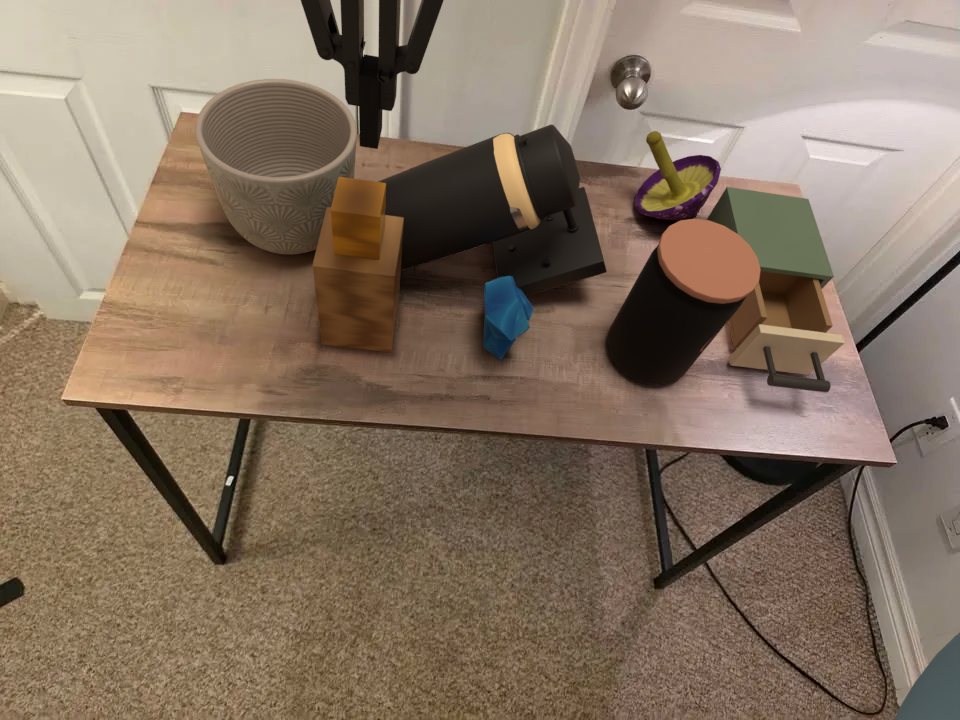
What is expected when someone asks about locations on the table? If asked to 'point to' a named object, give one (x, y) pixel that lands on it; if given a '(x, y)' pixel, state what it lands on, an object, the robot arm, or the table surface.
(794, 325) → the drawer
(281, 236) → the planter
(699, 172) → the decorative mushroom
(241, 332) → the table surface
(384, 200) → the block
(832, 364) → the table surface
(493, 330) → the crystal
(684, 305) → the coffee jar
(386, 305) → the stand
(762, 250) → the cabinet
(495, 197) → the light fixture
